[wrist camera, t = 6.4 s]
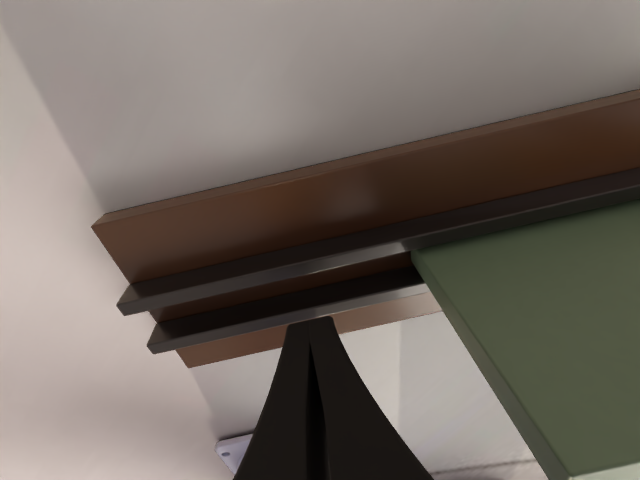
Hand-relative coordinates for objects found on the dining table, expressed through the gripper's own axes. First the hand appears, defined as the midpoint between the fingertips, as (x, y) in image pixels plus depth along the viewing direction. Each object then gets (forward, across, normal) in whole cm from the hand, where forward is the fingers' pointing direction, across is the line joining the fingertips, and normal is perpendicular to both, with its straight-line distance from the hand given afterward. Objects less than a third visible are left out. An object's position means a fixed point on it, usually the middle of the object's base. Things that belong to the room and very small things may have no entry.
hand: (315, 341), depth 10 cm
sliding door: (+3, -9, -1) cm, 10 cm away
